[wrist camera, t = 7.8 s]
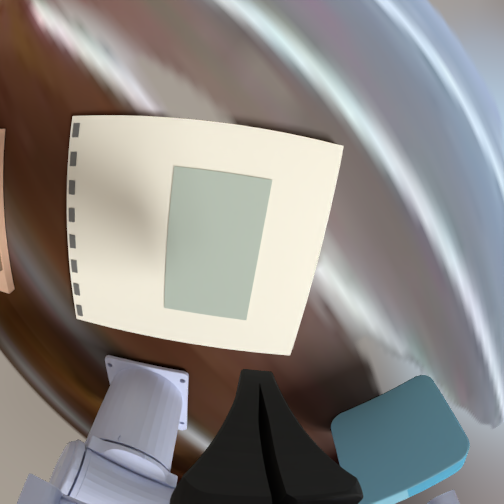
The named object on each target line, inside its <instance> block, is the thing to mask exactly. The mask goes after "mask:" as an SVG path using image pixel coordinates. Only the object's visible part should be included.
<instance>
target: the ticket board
mask: <svg viewBox="0 0 504 504" xmlns="http://www.w3.org/2000/svg"><path fill="white" fill-rule="evenodd" d="M343 147H344V146H341V145H337V144H333V143H329V142H325V141H321V140H317V139H312V138H308V137H303V136H298V135H294V134H289V133H284V132H278V131H273V130H267V129H262V128H256V127H249V126H243V125H236V124H229V123H221V122H213V121H204V120H194V119H183V118H171V117H155V116H129V115H89V116H72V124H71V132H70V142H69V154H68V170H67V236H68V253H69V265H70V275H71V284H72V291H73V299H74V305H75V312H76V318H77V319H80V320H83V321H87V322H91V323H95V324H99V325H103V326H107V327H111V328H115V329H120V330H124V331H128V332H133V333H138V334H142V335H147V336H152V337H157V338H163V339H168V340H173V341H179V342H185V343H191V344H197V345H204V346H210V347H217V348H225V349H232V350H240V351H249V352H258V353H268V354H279V355H290V354H291V351H292V348H293V345H294V342H295V339H296V335H297V332H298V329H299V326H300V322H301V319H302V315H303V312H304V309H305V305H306V302H307V298H308V295H309V291H310V288H311V284H312V280H313V277H314V273H315V269H316V266H317V262H318V258H319V254H320V250H321V246H322V242H323V238H324V234H325V230H326V226H327V222H328V217H329V213H330V209H331V204H332V200H333V196H334V191H335V186H336V182H337V177H338V172H339V167H340V162H341V157H342V152H343Z"/></svg>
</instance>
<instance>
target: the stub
mask: <svg viewBox="0 0 504 504" xmlns="http://www.w3.org/2000/svg"><path fill="white" fill-rule="evenodd" d="M4 140H5V129H0V291H2V292H5V293H8V294H9V293H11V292H12V291H13V290H14V289H15V288H14V284H13V278H12V273H11V267H10V261H9V254H8V247H7V239H6V230H5V218H4V201H3V157H4Z"/></svg>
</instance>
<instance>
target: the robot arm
mask: <svg viewBox="0 0 504 504" xmlns="http://www.w3.org/2000/svg"><path fill="white" fill-rule="evenodd" d="M105 364H106V369H107V374H108V378H109V383H110V387H109V389H108V391H107V393H106V396H105V398H104V400H103V402H102V404H101V407H100V409H99V411H98V414H97V416H96V418H95V421H94V423H93V425H92V428H91V430H90V432H89V435H88V437H87V440H86V442H85V443H84V442H82V441H81V440H76V441H71V442H69V443H68V444H67V445H66V447H65V449H64V450H63V452H62V454H61V455H60V458H59V459H58V461H57V464H56V466H55V468H54V471H53V473H52V476H51V478H50V481H49V482H46V481H44V480H43V479H41V478H39V477H37V476H35V475H33V474H29V475H28V477H27V479H26V482H25V484H24V487H23V489H22V491H21V494H20V497H19V499H18V502H17V504H358V503H359V502H360V501H361V500H362V499H363V492H362V488H361V486H360V483H359V481H358V479H357V478H356V477H355V476H353V475H352V474H350V473H349V472H347V471H346V470H344V469H343V468H342V467H340V466H339V465H338V464H337V463H336V462H334V461H333V460H332V459H331V458H330V457H329V456H328V455H327V454H326V453H324V452H323V451H322V450H321V449H320V448H319V447H318V446H317V445H316V443H315V442H314V441H313V440H312V439H311V438H310V437H309V435H308V434H307V433H306V432H305V430H304V429H303V428H302V426H301V425H300V424H299V422H298V421H297V419H296V418H295V416H294V415H293V413H292V411H291V410H290V408H289V406H288V405H287V403H286V401H285V399H284V397H283V395H282V393H281V391H280V389H279V387H278V385H277V383H276V381H275V378H274V376H273V373H272V372H269V371H258V370H248V369H243V370H241V373H240V378H239V383H238V388H237V392H236V397H235V400H234V402H233V405H232V407H231V409H230V411H229V413H228V415H227V417H226V419H225V421H224V423H223V425H222V427H221V428H220V430H219V432H218V433H217V435H216V436H215V438H214V439H213V441H212V442H211V444H210V445H209V446H208V448H207V449H206V450H205V452H204V453H203V454H202V455H201V457H200V458H199V459H198V460H197V461H196V463H195V464H194V465H193V466H192V467H191V468H190V469H189V470H188V471H187V472H186V473H185V474H184V475H183V477H182V478H181V480H180V481H179V483H178V485H177V486H176V483H177V476H176V475H174V474H172V473H170V469H171V464H172V458H173V452H174V447H175V441H176V436H177V431H178V429H179V430H186V429H187V407H188V379H189V375H188V373H187V372H185V371H181V370H175V369H170V368H164V367H159V366H154V365H150V364H145V363H140V362H136V361H132V360H127V359H123V358H119V357H115V356H111V355H107V356H106V357H105ZM182 379H184V380H182ZM427 504H460V502H459V500H458V497H457V495H456V493H455V491H454V490H450V491H448V492H446V493H443V494H441V495H439V496H437V497H435V498H433V499H432V500H430V501H429V502H428V503H427Z"/></svg>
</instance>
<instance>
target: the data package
mask: <svg viewBox="0 0 504 504" xmlns="http://www.w3.org/2000/svg"><path fill="white" fill-rule="evenodd" d="M331 431H332V435H333V439H334V443H335V447H336V451H337V455H338V459H339V463H340V467H342V468H343V469H344V470H346V471H347V472H349V473H350V474H352V475H353V476H355V477H356V478H357V479H358V481H359V483H360V486H361V488H362V492H363V499H362V500H361V501H360V502H359V503H358V504H395V503H397V502H399V501H402V500H404V499H406V498H408V497H411V496H413V495H415V494H417V493H419V492H421V491H423V490H425V489H427V488H429V487H431V486H433V485H435V484H437V483H438V482H440V481H442V480H444V479H446V478H448V477H449V476H451V475H453V474H454V473H456V472H457V471H459V470H460V468H461V467H462V466H463V464H464V462H465V459H466V456H467V454H468V450H469V446H470V443H469V440H468V438H467V436H466V434H465V432H464V431H463V429H462V427H461V425H460V424H459V422H458V420H457V418H456V417H455V415H454V413H453V412H452V410H451V408H450V407H449V405H448V403H447V402H446V400H445V399H444V397H443V395H442V394H441V392H440V391H439V389H438V387H437V386H436V384H435V383H434V381H433V380H432V379H431V378H430V377H428V376H425V375H420V376H416V377H414V378H412V379H410V380H409V381H407V382H405V383H403V384H401V385H399V386H398V387H396V388H394V389H392V390H390V391H388V392H386V393H384V394H382V395H380V396H378V397H376V398H374V399H371V400H369V401H367V402H365V403H363V404H361V405H358V406H356V407H354V408H352V409H349V410H347V411H345V412H342V413H340V414H339V415H337V416H336V417H335V418H334V420H333V421H332V423H331Z"/></svg>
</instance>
